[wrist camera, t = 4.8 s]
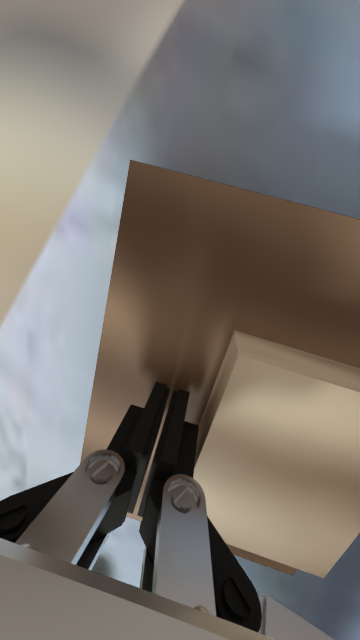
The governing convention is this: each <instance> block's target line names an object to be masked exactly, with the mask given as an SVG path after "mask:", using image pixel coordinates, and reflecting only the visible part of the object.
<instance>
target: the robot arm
mask: <svg viewBox="0 0 360 640" xmlns="http://www.w3.org/2000/svg"><path fill="white" fill-rule="evenodd" d="M166 387H167V385H166V384H163V383H159V382H156V383H155V385H154V387H153V389H152V392H151V394H150V396H149V398H148V400H147V403H146V405H145V407H144V408H142V407H139V406H136V405H132V404H131V405H130V407H129V409H128V410H127V412H126V414H125V416H124V418H123V420H122V422H121V423H120V425H119V427H118V429H117V431H116V433H115V434H114V436H113V438H112V440H111V442H110V444H109V446H108V447H107V449H106V450H103V449H102V450H98V451H95V452H93V453H91V454H90V455H88V456H87V457H86V458H85V459H84V460H83V462H82V463H81V464H80V465H79V466H78V468H77V469H76V470H75V471H74V472H72V473H70V474H67V475H64V476H62V477H59V478H56V479H54V480H51V481H49V482H46V483H43V484H41V485H38V486H36V487H33V488H30V489H28V490H25V491H23V492H20V493H17V494H15V495H12V496H10V497H7V498H6V499H4V500H2V501H0V640H334V639H333V638H332V637H330V636H329V635H327V634H326V633H324V632H323V631H321V630H320V629H318V628H317V627H315V626H314V625H312V624H311V623H309V622H308V621H306V620H305V619H303V618H302V617H300V616H299V615H297V614H296V613H294V612H292V611H291V610H289V609H288V608H286V607H285V606H283V605H282V604H280V603H279V602H277V601H276V600H274V599H273V598H271V597H270V596H268V595H266V597H263V596H262V595H260V594H259V593H257V592H256V590H255V588H254V586H253V584H252V582H251V581H250V579H249V578H248V576H247V575H246V573H245V572H244V570H243V569H242V567H241V566H240V564H239V563H238V561H237V560H236V558H235V557H234V555H233V554H232V552H231V551H230V549H229V548H228V546H227V545H226V543H225V542H224V540H223V539H222V537H221V536H220V534H219V533H218V531H217V530H216V528H215V527H214V525H213V524H212V522H211V521H210V519H209V518H208V516H207V510H206V499H205V494H204V491H203V489H202V487H201V485H200V484H199V483H198V482H197V481H196V480H195V479H193V476H194V467H195V457H196V448H197V438H198V429H199V426H198V425H196V424H193V423H190V422H187V421H184V420H185V415H186V410H187V404H188V399H189V394H190V392H189V391H185V390H182V389H179V390H178V391H175V390H174V391H173V394H172V398H171V401H170V404H169V408H168V411H167V414H166V418H165V421H164V424H163V428H162V431H161V434H160V437H159V441H158V444H157V447H156V451H155V454H154V458H153V461H152V465H151V468H150V472H149V475H148V479H147V482H146V486H145V489H144V493H143V496H142V500H141V504H140V507H139V511H138V514H137V516H140V517H142V521H141V525H140V530H139V532H140V534H141V537H142V539H143V541H144V543H145V549H144V554H143V563H142V572H141V580H140V588H137V587H135V586H132V585H129V584H126V583H124V582H121V581H118V580H115V579H113V578H110V577H107V576H104V575H102V574H99V573H96V572H93V571H91V570H92V568H93V566H94V564H95V562H96V560H97V558H98V556H99V554H100V553H101V551H102V549H103V547H104V545H105V543H106V541H107V539H108V537H109V534H110V532H111V531H113V530H114V529H116V528H118V527H120V526H121V525H122V523H123V522H124V521H125V518H126V515H127V512H128V513H131V514H133V512H134V509H135V505H136V502H137V499H138V496H139V493H140V490H141V486H142V483H143V480H144V477H145V474H146V471H147V467H148V464H149V461H150V458H151V455H152V452H153V448H154V445H155V442H156V439H157V435H158V432H159V428H160V425H161V421H162V418H163V414H164V410H165V407H166V403H167V400H168V396H169V392H170V389H168V388H166Z"/></svg>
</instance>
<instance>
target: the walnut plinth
mask: <svg viewBox="0 0 360 640" xmlns="http://www.w3.org/2000/svg"><path fill="white" fill-rule="evenodd" d="M234 330H235V331H239V332H242V333H245V334H248V335H252V336H255V337H258V338H262V339H265V340H268V341H271V342H275V343H278V344H281V345H284V346H288V347H291V348H294V349H298V350H301V351H304V352H307V353H311V354H314V355H317V356H320V357H324V358H327V359H330V360H334V361H337V362H340V363H343V364H347V365H350V366H353V367H357V368H360V219H356V218H352V217H348V216H344V215H340V214H337V213H333V212H329V211H325V210H321V209H317V208H314V207H310V206H306V205H302V204H298V203H294V202H291V201H287V200H283V199H279V198H275V197H271V196H268V195H264V194H260V193H256V192H252V191H248V190H245V189H241V188H237V187H233V186H229V185H225V184H222V183H218V182H214V181H210V180H206V179H202V178H199V177H195V176H191V175H187V174H183V173H179V172H176V171H172V170H168V169H164V168H160V167H156V166H153V165H149V164H145V163H141V162H137V161H133V160H130V165H129V171H128V177H127V183H126V189H125V195H124V201H123V207H122V213H121V219H120V226H119V232H118V238H117V244H116V250H115V256H114V262H113V268H112V274H111V280H110V286H109V292H108V298H107V304H106V310H105V316H104V323H103V329H102V335H101V341H100V347H99V353H98V359H97V365H96V371H95V377H94V383H93V389H92V395H91V401H90V407H89V413H88V420H87V426H86V432H85V438H84V444H83V450H82V456H81V462H80V464H81V463H82V462H83V460H84V459H85V458H86V457H87V456H88V455H90V454H91V453H93V452H95V451H98V450H102V449H103V450H106V449H107V447H108V446H109V444H110V442H111V440H112V438H113V436H114V434H115V433H116V431H117V429H118V427H119V425H120V423H121V422H122V420H123V418H124V416H125V414H126V412H127V410H128V409H129V407H130V405H131V404H132V405H136V406H139V407H142V408H144V407H145V405H146V403H147V400H148V398H149V396H150V394H151V392H152V389H153V387H154V385H155V383H156V382H159V383H163V384H166V385H167V387H166V388H168V389H170V392H169V396H168V400H167V403H166V407H165V410H164V414H163V418H162V421H161V425H160V428H159V432H158V435H157V439H156V442H155V445H154V448H153V452H152V455H151V458H150V461H149V464H148V467H147V471H146V474H145V477H144V480H143V483H142V486H141V490H140V493H139V496H138V499H137V502H136V505H135V509H134V512H133V514H131V513H128V512H127V515H126V516H127V517H130V518H132V519H135V520H138V521H142V517H140V516H137V514H138V511H139V507H140V504H141V500H142V496H143V493H144V489H145V486H146V482H147V479H148V475H149V472H150V468H151V465H152V461H153V458H154V454H155V451H156V447H157V444H158V441H159V437H160V434H161V431H162V428H163V424H164V421H165V418H166V414H167V411H168V408H169V404H170V401H171V398H172V394H173V391H174V390H175V391H178V390H179V389H182V390H185V391H189V392H190V394H189V399H188V404H187V410H186V415H185V420H184V421H187V422H190V423H193V424H196V425H198V426H199V424H200V422H201V419H202V416H203V413H204V411H205V408H206V405H207V403H208V400H209V397H210V395H211V392H212V389H213V386H214V384H215V381H216V378H217V376H218V373H219V370H220V368H221V365H222V362H223V359H224V357H225V354H226V351H227V349H228V346H229V343H230V341H231V338H232V335H233V332H234ZM226 545H227V546H228V548H229V549H230V551H231V552H232V554H234V555H236V556H239V557H242V558H245V559H248V560H250V561H253V562H256V563H259V564H262V565H264V566H267V567H270V568H273V569H276V570H279V571H281V572H284V573H287V574H290V575H293V574H294V573H295V571H296V570H297V569H296V568H293V567H290V566H288V565H285V564H282V563H279V562H277V561H274V560H271V559H268V558H265V557H263V556H260V555H257V554H254V553H251V552H249V551H246V550H243V549H240V548H237V547H235V546H232V545H229V544H226Z"/></svg>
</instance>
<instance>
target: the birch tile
mask: <svg viewBox="0 0 360 640" xmlns="http://www.w3.org/2000/svg"><path fill="white" fill-rule="evenodd" d="M193 479H195V480H196V481H197V482H198V483H199V484H200V485H201V487H202V489H203V491H204V494H205V499H206V510H207V516H208V518H209V519H210V521H211V522H212V524H213V525H214V527H215V528H216V530H217V531H218V533H219V534H220V536H221V537H222V539H223V540H224V542H225V543H226V544H229V545H232V546H235V547H237V548H240V549H243V550H246V551H249V552H251V553H254V554H257V555H260V556H263V557H265V558H268V559H271V560H274V561H277V562H279V563H282V564H285V565H288V566H290V567H293V568H296V569H299V570H302V571H304V572H307V573H310V574H313V575H316V576H318V577H321V578H324V577H325V576H326V575H327V573H328V572H329V571H330V570H331V568H332V567H333V566H334V565H335V563H336V562H337V561H338V560H339V558H340V557H341V556H342V555H343V553H344V552H345V551H346V550H347V548H348V547H349V546H350V545H351V543H352V542H353V541H354V540H355V538H356V537H357V536H358V535H359V533H360V368H357V367H353V366H350V365H347V364H343V363H340V362H337V361H334V360H330V359H327V358H324V357H320V356H317V355H314V354H311V353H307V352H304V351H301V350H298V349H294V348H291V347H288V346H284V345H281V344H278V343H275V342H271V341H268V340H265V339H262V338H258V337H255V336H252V335H248V334H245V333H242V332H239V331H235V330H234V332H233V335H232V338H231V341H230V343H229V346H228V349H227V351H226V354H225V357H224V359H223V362H222V365H221V368H220V370H219V373H218V376H217V378H216V381H215V384H214V386H213V389H212V392H211V395H210V397H209V400H208V403H207V405H206V408H205V411H204V413H203V416H202V419H201V422H200V424H199V429H198V438H197V448H196V457H195V467H194V476H193Z"/></svg>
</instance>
